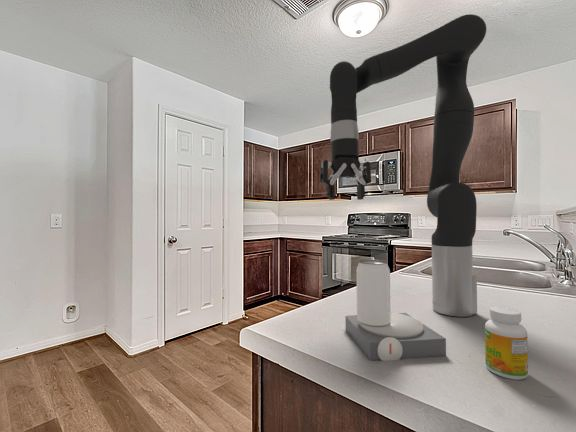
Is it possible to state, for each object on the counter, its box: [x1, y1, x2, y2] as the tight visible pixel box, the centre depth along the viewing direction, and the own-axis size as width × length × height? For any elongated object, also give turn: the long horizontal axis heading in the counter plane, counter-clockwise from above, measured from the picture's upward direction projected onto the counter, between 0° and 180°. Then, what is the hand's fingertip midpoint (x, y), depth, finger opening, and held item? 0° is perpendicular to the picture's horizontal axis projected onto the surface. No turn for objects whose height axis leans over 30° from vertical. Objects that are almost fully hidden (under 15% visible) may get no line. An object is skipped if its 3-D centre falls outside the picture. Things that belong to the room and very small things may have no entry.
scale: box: [345, 312, 447, 362], centre depth 57 cm, size 14×15×4 cm
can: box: [356, 259, 392, 327], centre depth 58 cm, size 6×6×12 cm
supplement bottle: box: [484, 305, 529, 381], centre depth 46 cm, size 5×5×10 cm
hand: (346, 199), depth 78 cm, fingers open, 8 cm apart
